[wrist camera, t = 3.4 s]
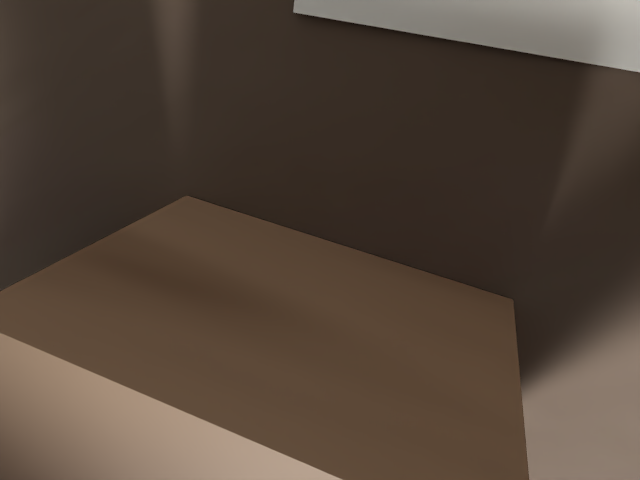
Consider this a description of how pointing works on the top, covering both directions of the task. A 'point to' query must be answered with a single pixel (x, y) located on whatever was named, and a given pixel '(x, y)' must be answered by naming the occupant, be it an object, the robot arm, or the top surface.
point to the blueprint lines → (507, 24)
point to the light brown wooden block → (253, 361)
